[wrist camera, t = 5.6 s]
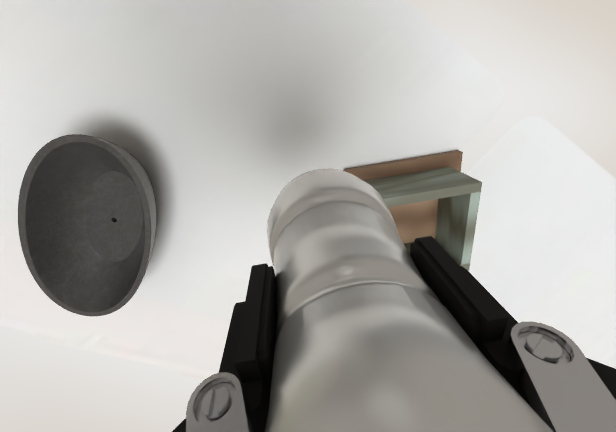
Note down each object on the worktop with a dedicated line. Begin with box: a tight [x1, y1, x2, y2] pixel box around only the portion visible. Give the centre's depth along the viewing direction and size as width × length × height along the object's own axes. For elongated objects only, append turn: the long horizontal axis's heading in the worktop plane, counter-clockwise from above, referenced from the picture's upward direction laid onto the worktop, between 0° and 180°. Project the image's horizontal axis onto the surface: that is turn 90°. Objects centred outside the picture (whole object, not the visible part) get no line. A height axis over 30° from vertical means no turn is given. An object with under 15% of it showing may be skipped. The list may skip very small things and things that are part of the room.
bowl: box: [18, 135, 156, 316], centre depth 30 cm, size 12×22×6 cm, turn 158°
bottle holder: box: [344, 150, 482, 270], centre depth 32 cm, size 14×14×7 cm
